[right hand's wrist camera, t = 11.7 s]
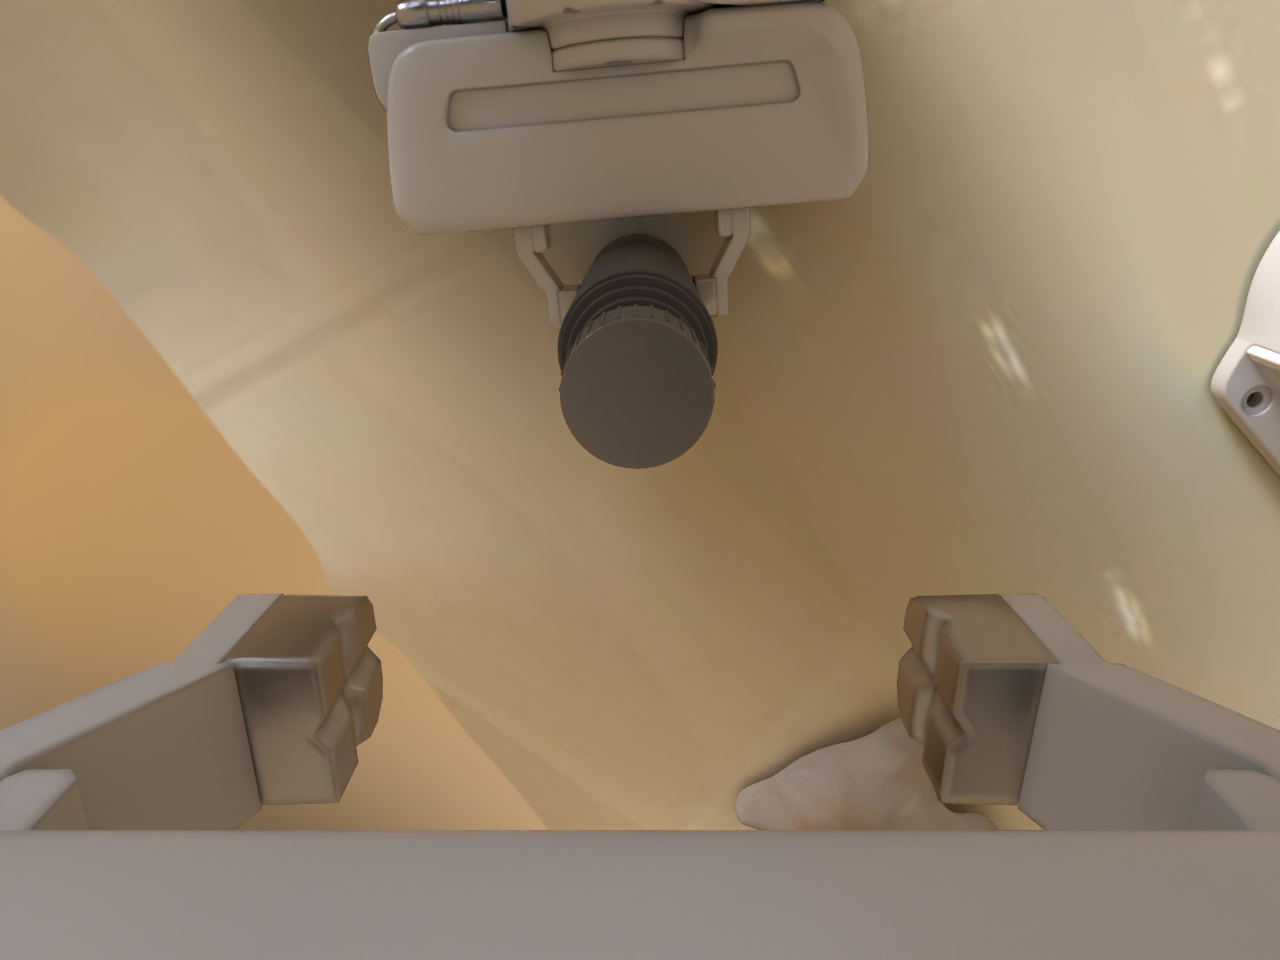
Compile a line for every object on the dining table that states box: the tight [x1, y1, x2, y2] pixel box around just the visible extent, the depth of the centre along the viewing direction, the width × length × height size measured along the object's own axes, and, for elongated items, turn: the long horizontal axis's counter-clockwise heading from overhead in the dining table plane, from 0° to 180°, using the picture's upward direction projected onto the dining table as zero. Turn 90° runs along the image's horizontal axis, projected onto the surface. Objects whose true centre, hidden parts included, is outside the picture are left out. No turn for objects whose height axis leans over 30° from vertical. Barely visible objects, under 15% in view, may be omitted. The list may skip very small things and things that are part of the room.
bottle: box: [558, 234, 717, 376], centre depth 32 cm, size 5×5×22 cm
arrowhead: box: [735, 717, 996, 830], centre depth 55 cm, size 14×5×30 cm
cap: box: [559, 304, 715, 469], centre depth 23 cm, size 4×4×2 cm
